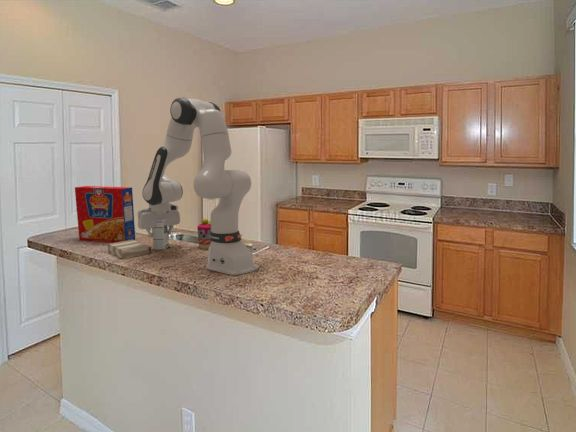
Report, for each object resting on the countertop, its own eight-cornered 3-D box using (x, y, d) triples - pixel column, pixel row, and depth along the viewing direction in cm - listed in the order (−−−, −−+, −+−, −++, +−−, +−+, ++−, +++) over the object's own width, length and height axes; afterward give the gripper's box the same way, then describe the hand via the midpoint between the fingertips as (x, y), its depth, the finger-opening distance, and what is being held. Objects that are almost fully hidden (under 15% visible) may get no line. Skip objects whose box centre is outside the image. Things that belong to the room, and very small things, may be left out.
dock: (151, 253, 177) (150, 244, 176) (122, 259, 167) (122, 250, 167) (136, 247, 188) (135, 239, 187) (108, 252, 178) (107, 243, 178)
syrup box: (165, 249, 183) (163, 219, 181) (152, 249, 183) (151, 219, 181) (168, 246, 189) (167, 217, 187) (157, 246, 189) (155, 217, 187)
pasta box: (79, 240, 201) (74, 187, 196) (90, 237, 209) (86, 185, 204) (125, 244, 194) (121, 188, 189) (135, 240, 202) (132, 187, 197)
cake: (200, 250, 182) (199, 219, 180) (195, 245, 192) (194, 215, 189) (222, 248, 187) (221, 217, 184) (216, 243, 196) (215, 214, 194)
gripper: (140, 210, 173) (142, 240, 176) (181, 205, 188) (182, 233, 190) (134, 208, 178) (136, 237, 180) (174, 204, 192) (175, 231, 194)
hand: (160, 235), depth 185 cm, fingers closed on syrup box, 8 cm apart
